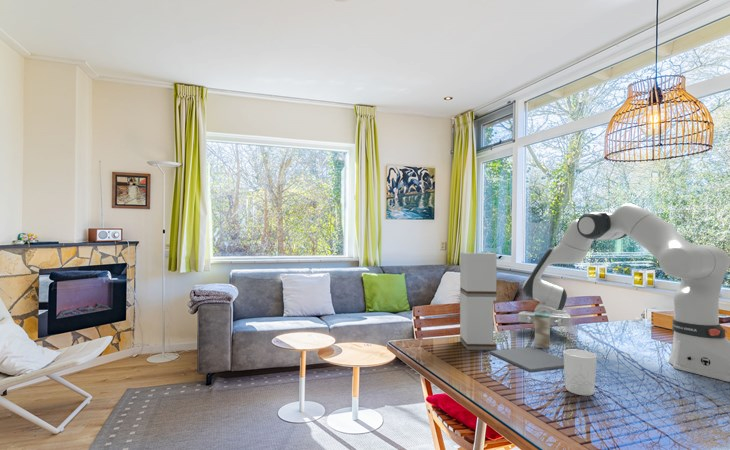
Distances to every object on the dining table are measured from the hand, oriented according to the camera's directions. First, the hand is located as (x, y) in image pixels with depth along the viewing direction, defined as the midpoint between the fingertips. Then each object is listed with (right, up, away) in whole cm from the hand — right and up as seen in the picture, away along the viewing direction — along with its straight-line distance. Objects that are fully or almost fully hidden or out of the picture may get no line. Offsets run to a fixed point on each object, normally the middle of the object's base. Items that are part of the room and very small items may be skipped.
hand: (543, 322), depth 159 cm
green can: (-5, -7, -10) cm, 13 cm away
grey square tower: (-29, -7, -10) cm, 32 cm away
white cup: (-14, -6, -53) cm, 55 cm away
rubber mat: (-16, -6, -26) cm, 32 cm away
